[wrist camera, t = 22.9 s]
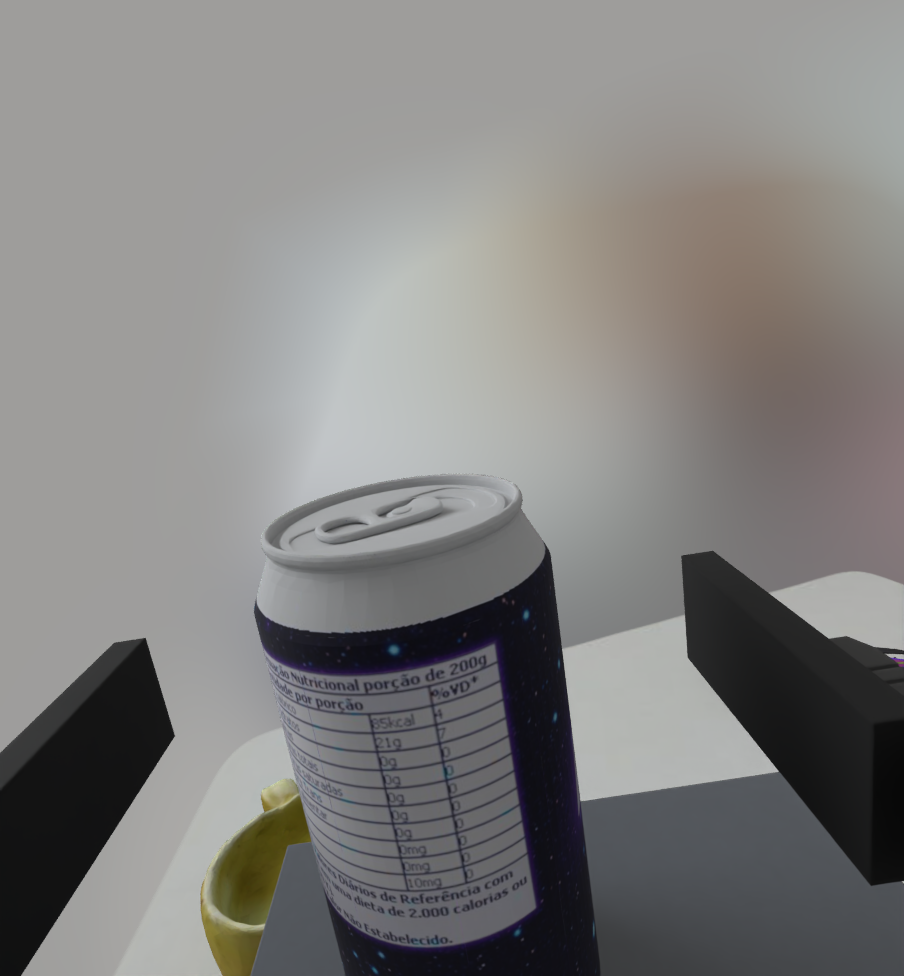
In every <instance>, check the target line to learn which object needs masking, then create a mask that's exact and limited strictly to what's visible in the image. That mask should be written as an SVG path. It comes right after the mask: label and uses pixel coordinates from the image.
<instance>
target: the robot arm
mask: <svg viewBox="0 0 904 976" xmlns="http://www.w3.org/2000/svg"><path fill="white" fill-rule="evenodd" d="M681 557H682V573H683V588H684V605H685V621H686V637H687V653H688V658H689V660H690V661H691V662H692V663H693V665H694V666H695V667H696V668H697V670H698V671H699V672H700V673H701V675H702V676H703V677H704V678H705V680H706V681H707V682H708V683H709V685H710V686H711V687H712V688H713V690H714V691H715V692H716V693H717V695H718V696H719V697H720V698H721V700H722V701H723V702H724V703H725V705H726V706H727V707H728V708H729V710H730V711H731V712H732V713H733V715H734V716H735V717H736V718H737V720H738V721H739V722H740V723H741V725H742V726H743V727H744V728H745V730H746V731H747V732H748V733H749V735H750V736H751V737H752V738H753V740H754V741H755V742H756V743H757V745H758V746H759V747H760V748H761V750H762V751H763V752H764V753H765V754H766V756H767V757H768V758H769V759H770V761H771V762H772V763H773V764H774V766H775V767H776V768H777V769H778V771H779V772H780V773H781V774H782V776H783V777H784V778H785V779H786V781H787V782H788V783H789V784H790V786H791V787H792V788H793V789H794V791H795V792H796V793H797V794H798V796H799V797H800V798H801V799H802V801H803V802H804V803H805V804H806V806H807V807H808V808H809V809H810V811H811V812H812V813H813V814H814V816H815V817H816V818H817V819H818V821H819V822H820V823H821V824H822V826H823V827H824V828H825V829H826V831H827V832H828V833H829V834H830V836H831V837H832V838H833V839H834V841H835V842H836V843H837V844H838V846H839V847H840V848H841V849H842V851H843V852H844V853H845V854H846V856H847V857H848V858H849V859H850V861H851V862H852V863H853V864H854V866H855V867H856V868H857V869H858V871H859V872H860V873H861V874H862V876H863V877H864V878H865V879H866V880H867V882H868V883H869V884H870V885H871V886H874V885H880V884H887V883H893V882H900V881H904V667H903V666H902V667H899V665H898V663H897V662H896V661H894V660H893V659H891V658H890V657H888V656H887V655H886V654H884V653H883V652H881V651H880V650H878V649H877V648H875V647H873V646H870V645H867V644H865V643H862V642H860V641H857V640H855V639H852V638H850V637H847V636H845V637H838V638H832V639H828V638H827V637H826V636H824V635H823V634H822V633H820V632H819V631H818V630H816V629H815V628H814V627H812V626H811V625H810V624H808V623H807V622H806V621H805V620H803V619H802V618H801V617H799V616H798V615H797V614H795V613H794V612H793V611H791V610H790V609H789V608H787V607H786V606H785V605H783V604H782V603H781V602H779V601H778V600H777V599H776V598H774V597H773V596H772V595H770V594H769V593H768V592H766V591H765V590H764V589H762V588H761V587H760V586H758V585H757V584H756V583H754V582H753V581H752V580H750V579H749V578H748V577H746V576H745V575H744V574H743V573H741V572H740V571H739V570H737V569H736V568H734V567H733V566H732V565H731V564H729V563H728V562H727V561H725V560H724V559H723V558H721V557H720V556H719V555H717V554H716V553H715V552H714V551H709V552H703V553H696V554H690V555H683V556H681ZM174 737H175V735H174V732H173V728H172V725H171V722H170V718H169V715H168V711H167V708H166V705H165V701H164V698H163V695H162V691H161V688H160V685H159V681H158V678H157V675H156V671H155V668H154V665H153V661H152V658H151V655H150V651H149V648H148V645H147V641H146V638H143V639H136V640H129V641H123V642H116V643H114V644H113V645H112V646H111V647H110V648H109V649H108V650H107V651H106V652H104V653H103V654H102V655H101V656H100V657H99V658H98V659H97V660H96V661H95V662H94V663H93V664H92V665H91V666H90V667H89V668H88V669H87V670H86V671H85V672H84V673H83V674H82V675H81V676H79V677H78V678H77V679H76V680H75V682H73V683H72V684H71V685H70V686H69V687H68V688H67V689H66V690H65V691H64V692H63V693H62V694H61V695H60V696H59V697H58V698H57V699H56V700H55V701H54V702H53V703H52V704H51V705H49V706H48V707H47V708H46V710H44V711H43V712H42V713H41V714H40V715H39V716H38V717H37V718H36V719H35V720H34V721H33V722H32V723H31V724H30V725H29V726H28V727H27V728H26V729H25V730H24V731H23V732H22V733H20V734H19V735H18V737H16V738H15V739H14V740H13V741H12V742H11V743H10V744H9V745H8V746H7V747H6V748H5V749H4V750H3V751H2V752H1V753H0V976H21V975H22V973H23V972H24V970H25V969H26V967H27V965H28V964H29V962H30V961H31V959H32V958H33V956H34V955H35V953H36V951H37V950H38V948H39V947H40V945H41V944H42V942H43V940H44V939H45V937H46V936H47V934H48V933H49V931H50V929H51V928H52V926H53V925H54V923H55V922H56V920H57V919H58V917H59V916H60V914H61V912H62V911H63V909H64V908H65V906H66V905H67V903H68V902H69V900H70V898H71V897H72V895H73V894H74V892H75V891H76V889H77V888H78V886H79V884H80V883H81V881H82V880H83V878H84V877H85V875H86V874H87V872H88V870H89V869H90V867H91V866H92V864H93V863H94V861H95V860H96V858H97V856H98V855H99V853H100V852H101V850H102V849H103V847H104V845H105V844H106V842H107V841H108V839H109V838H110V836H111V835H112V833H113V832H114V830H115V828H116V827H117V825H118V824H119V822H120V821H121V819H122V817H123V816H124V814H125V813H126V811H127V810H128V808H129V807H130V805H131V804H132V802H133V800H134V799H135V797H136V795H137V794H138V793H139V791H140V789H141V788H142V786H143V785H144V783H145V782H146V780H147V779H148V777H149V775H150V774H151V772H152V771H153V769H154V768H155V766H156V765H157V763H158V761H159V760H160V758H161V757H162V755H163V754H164V752H165V751H166V749H167V747H168V746H169V744H170V743H171V741H172V740H173V738H174Z"/></svg>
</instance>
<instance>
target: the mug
mask: <svg viewBox="0 0 904 976" xmlns="http://www.w3.org/2000/svg"><path fill="white" fill-rule="evenodd" d="M261 800H262V805H263V809H264V811H265V812H264V813H262V814H259V815H257V816H256V817H255V818H253V819H252V820H251V821H250V822H248V823H247V824H246V825H245V826H244V827H243V828H241V829H240V830H238V831H237V832H236V833H235V834H234V835H233V836H232V837H231V838H230V839H229V840H227V841H226V842H225V843H224V845H223V846H222V847H221V848H220V850H219V851H218V853H217V854H216V855H215V857H214V858H213V860H212V862H211V864H210V866H209V868H208V870H207V873H206V876H205V879H204V881H203V884H202V888H201V914H202V921H203V925H204V929H205V933H206V937H207V940H208V943H209V945H210V948H211V951H212V953H213V956H214V958H215V960H216V962H217V965H218V967H219V969H220V971H221V973H222V975H223V976H250V975H251V972H252V968H253V965H254V961H255V958H256V954H257V951H258V947H259V944H260V941H261V937H262V934H263V930H264V927H265V923H266V920H267V916H268V913H269V909H270V906H271V902H272V899H273V895H274V892H275V888H276V885H277V881H278V878H279V875H280V871H281V868H282V864H283V861H284V857H285V854H286V850H287V847H288V846H289V845H294V844H300V843H307V842H312V841H311V837H310V833H309V829H308V825H307V821H306V817H305V813H304V809H303V805H302V801H301V797H300V793H299V789H298V787H297V785H296V784H295V782H294V781H293V780H292V779H283V780H281V781H279V782H277V783H275V784H273V785H272V786H269V787H267V788H265V789H263V790H262V793H261Z"/></svg>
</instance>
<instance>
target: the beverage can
mask: <svg viewBox="0 0 904 976" xmlns="http://www.w3.org/2000/svg"><path fill="white" fill-rule="evenodd" d="M522 501H523V500H522V494H521V491H520V490H519V488H518V487H517V486H516V485H515V484H513V483H512V482H510V481H508V480H505V479H502V478H499V477H494V476H488V475H487V476H486V475H478V474H440V475H428V476H418V477H410V478H403V479H397V480H391V481H385V482H379V483H375V484H370V485H366V486H362V487H358V488H353V489H349V490H345V491H342V492H339V493H335V494H333V495H329V496H326V497H323V498H319V499H317V500H314V501H311V502H309V503H307V504H304V505H302V506H299V507H297V508H295V509H293V510H291V511H289V512H287V513H285V514H284V515H282V516H280V517H279V518H277V519H275V520H274V521H273V522H272V523H271V524H269V525H268V526H267V528H266V529H265V530H264V532H263V533H262V536H261V546H262V550H263V551H264V553H265V554H266V556H267V559H266V564H265V568H264V571H263V575H262V580H261V582H260V586H259V590H258V594H257V598H256V602H255V607H254V614H255V618H256V622H257V627H258V631H259V634H260V638H261V642H262V646H263V650H264V654H265V658H266V662H267V666H268V670H269V674H270V678H271V682H272V686H273V690H274V694H275V698H276V702H277V705H278V710H279V714H280V718H281V722H282V726H283V730H284V734H285V738H286V742H287V746H288V750H289V754H290V758H291V762H292V766H293V770H294V774H295V778H296V781H297V785H298V789H299V793H300V797H301V801H302V805H303V809H304V813H305V817H306V821H307V825H308V829H309V833H310V837H311V841H312V845H313V849H314V853H315V857H316V861H317V865H318V869H319V873H320V877H321V881H322V885H323V889H324V893H325V897H326V901H327V905H328V909H329V913H330V916H331V920H332V924H333V928H334V932H335V936H336V940H337V944H338V948H339V952H340V956H341V960H342V964H343V968H344V972H345V976H600V959H599V951H598V942H597V934H596V926H595V918H594V909H593V901H592V893H591V884H590V876H589V868H588V860H587V851H586V843H585V835H584V827H583V818H582V810H581V802H580V794H579V785H578V777H577V769H576V761H575V752H574V744H573V736H572V728H571V719H570V711H569V703H568V695H567V686H566V678H565V670H564V662H563V653H562V646H561V637H560V629H559V620H558V613H557V604H556V596H555V587H554V579H553V571H552V563H551V555H550V552H549V550H548V548H547V546H546V545H545V543H544V542H543V540H542V539H541V537H540V536H539V534H538V533H537V532H536V530H535V529H534V527H533V526H532V525H531V523H530V522H529V520H528V519H527V517H526V516H525V514H524V513H523V511H522V509H521V505H522Z"/></svg>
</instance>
